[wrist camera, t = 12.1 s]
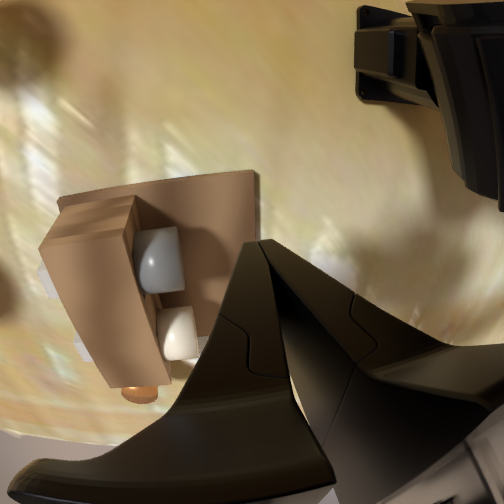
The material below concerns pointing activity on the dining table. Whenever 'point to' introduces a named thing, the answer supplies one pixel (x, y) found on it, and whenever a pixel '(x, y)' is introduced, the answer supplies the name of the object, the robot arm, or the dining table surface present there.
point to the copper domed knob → (140, 394)
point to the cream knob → (166, 335)
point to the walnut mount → (123, 271)
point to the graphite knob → (146, 263)
